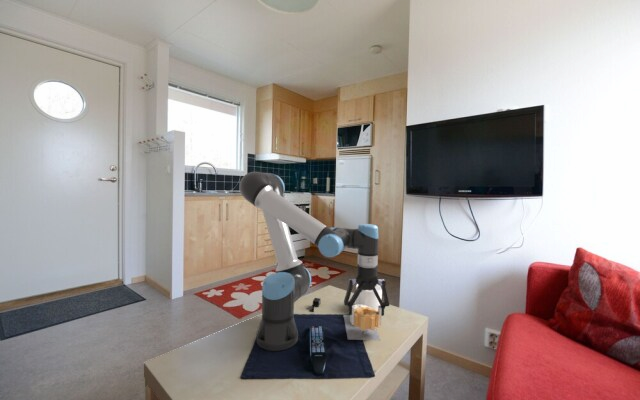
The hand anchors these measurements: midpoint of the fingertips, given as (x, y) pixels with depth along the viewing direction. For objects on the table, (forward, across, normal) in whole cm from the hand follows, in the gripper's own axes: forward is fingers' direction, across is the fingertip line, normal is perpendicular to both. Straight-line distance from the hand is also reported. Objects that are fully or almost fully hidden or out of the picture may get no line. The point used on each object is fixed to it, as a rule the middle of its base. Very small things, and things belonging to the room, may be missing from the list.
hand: (365, 323), depth 102 cm
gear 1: (+4, 0, +11) cm, 11 cm away
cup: (+6, +5, +21) cm, 23 cm away
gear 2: (0, 0, 0) cm, 0 cm away
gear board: (+6, -1, +5) cm, 8 cm away
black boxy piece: (+6, -19, +24) cm, 31 cm away
